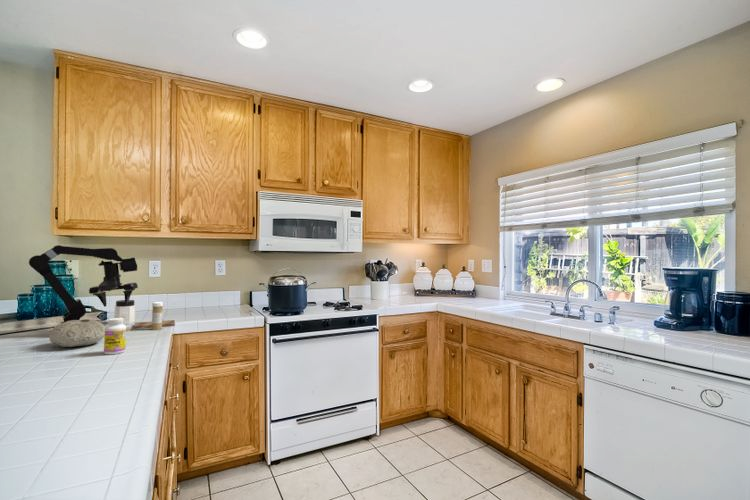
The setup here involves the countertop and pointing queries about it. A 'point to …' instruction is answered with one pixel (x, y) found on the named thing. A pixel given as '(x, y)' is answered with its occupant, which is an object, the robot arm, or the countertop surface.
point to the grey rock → (77, 333)
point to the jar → (125, 311)
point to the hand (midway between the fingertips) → (115, 305)
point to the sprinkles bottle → (157, 315)
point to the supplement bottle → (115, 337)
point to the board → (149, 324)
